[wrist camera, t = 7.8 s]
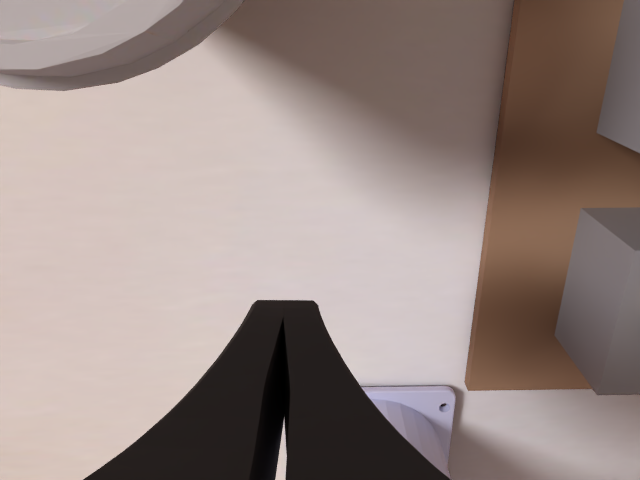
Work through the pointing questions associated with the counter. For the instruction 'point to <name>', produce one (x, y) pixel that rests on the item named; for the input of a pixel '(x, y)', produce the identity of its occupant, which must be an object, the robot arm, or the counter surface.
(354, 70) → the counter surface
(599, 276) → the twin gray blocks
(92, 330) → the counter surface
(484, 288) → the walnut board
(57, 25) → the disposable coffee cup
